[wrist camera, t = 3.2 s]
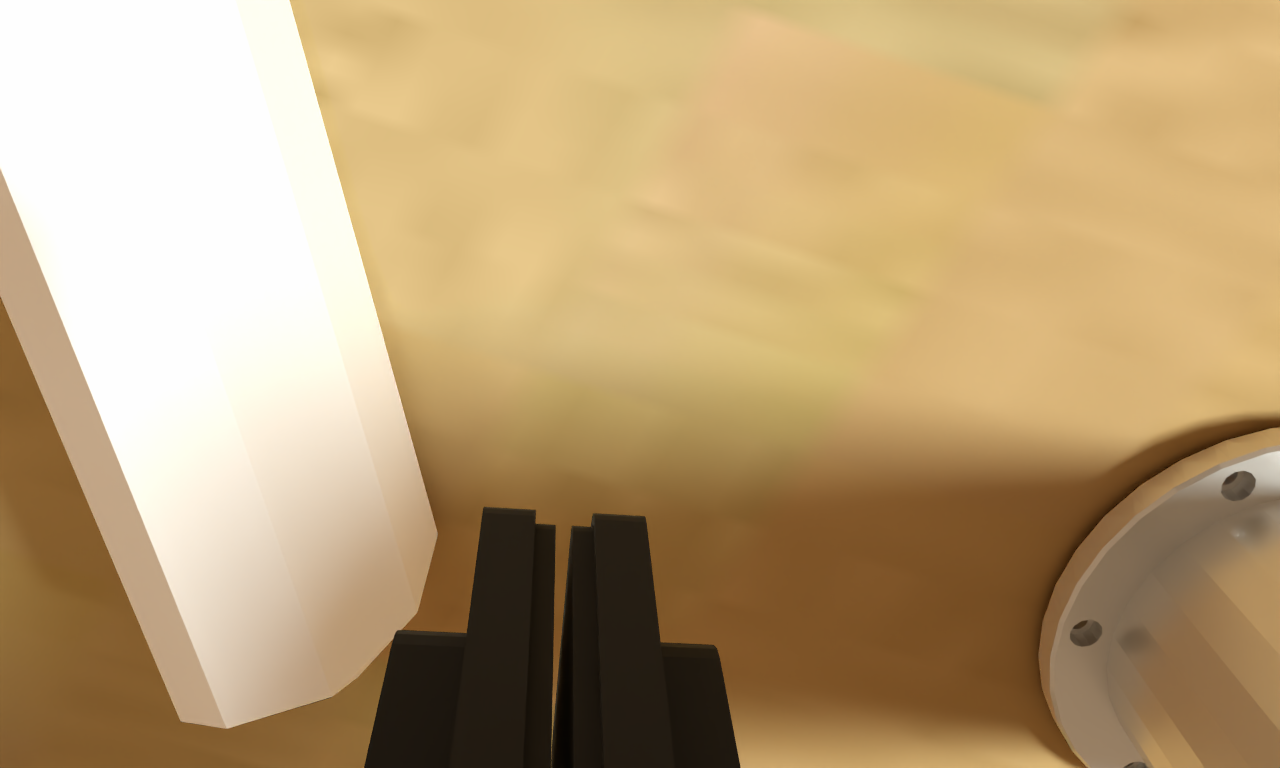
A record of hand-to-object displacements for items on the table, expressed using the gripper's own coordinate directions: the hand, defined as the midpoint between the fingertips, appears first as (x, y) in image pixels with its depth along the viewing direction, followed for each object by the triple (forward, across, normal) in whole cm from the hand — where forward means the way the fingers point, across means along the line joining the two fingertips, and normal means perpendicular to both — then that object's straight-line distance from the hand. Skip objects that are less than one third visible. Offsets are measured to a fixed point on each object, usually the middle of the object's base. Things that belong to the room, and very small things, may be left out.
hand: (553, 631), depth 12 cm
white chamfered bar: (+17, +9, 0) cm, 19 cm away
